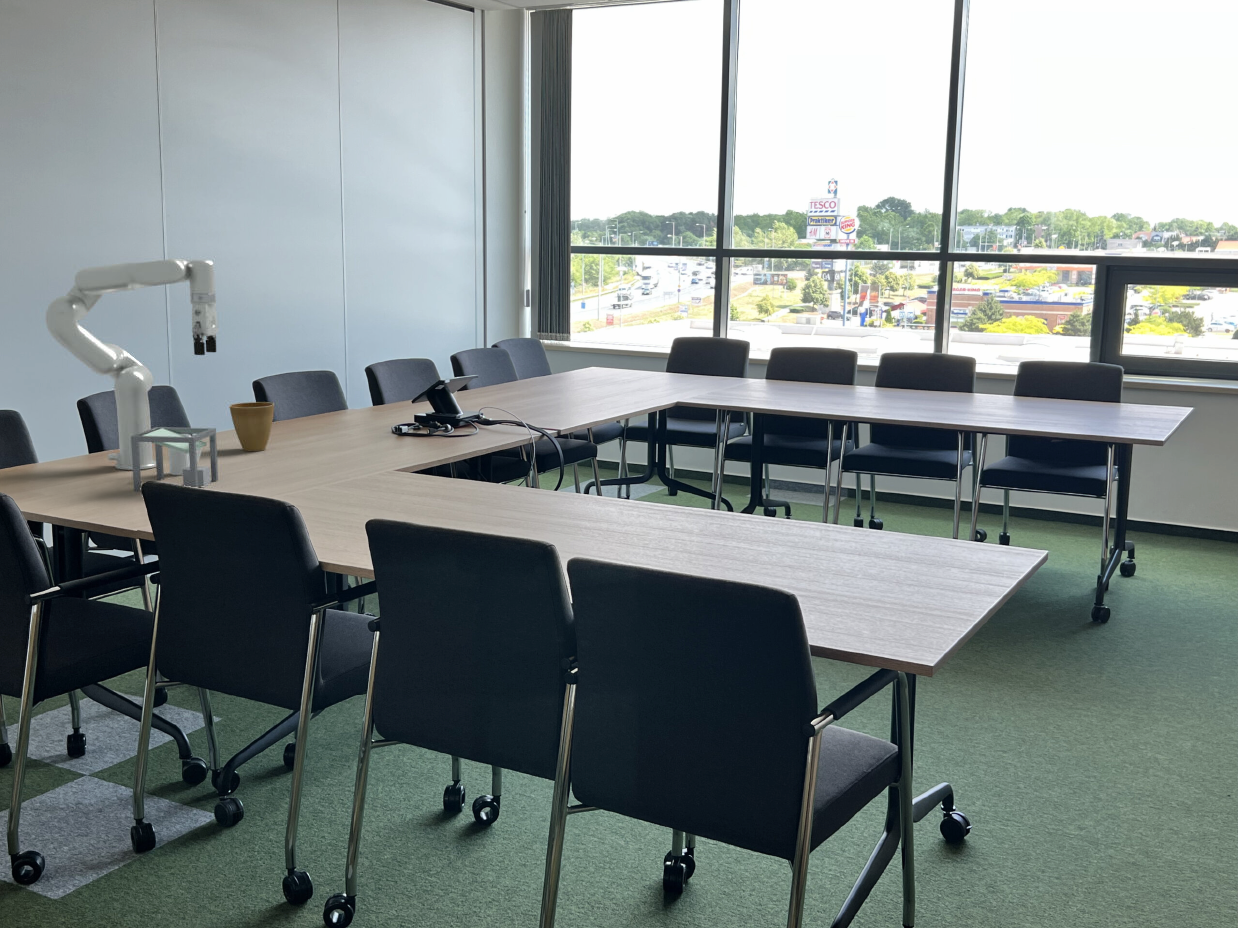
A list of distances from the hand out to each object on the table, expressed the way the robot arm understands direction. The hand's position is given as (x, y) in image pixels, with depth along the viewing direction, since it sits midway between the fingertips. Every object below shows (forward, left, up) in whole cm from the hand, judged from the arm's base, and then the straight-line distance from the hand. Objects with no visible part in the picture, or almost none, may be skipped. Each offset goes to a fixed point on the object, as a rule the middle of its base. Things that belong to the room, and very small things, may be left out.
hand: (205, 353), depth 364 cm
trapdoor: (+2, -32, -23) cm, 40 cm away
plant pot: (+4, +30, -36) cm, 47 cm away
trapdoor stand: (+2, -32, -36) cm, 48 cm away
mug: (-3, -13, -36) cm, 39 cm away
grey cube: (+5, -32, -34) cm, 47 cm away
